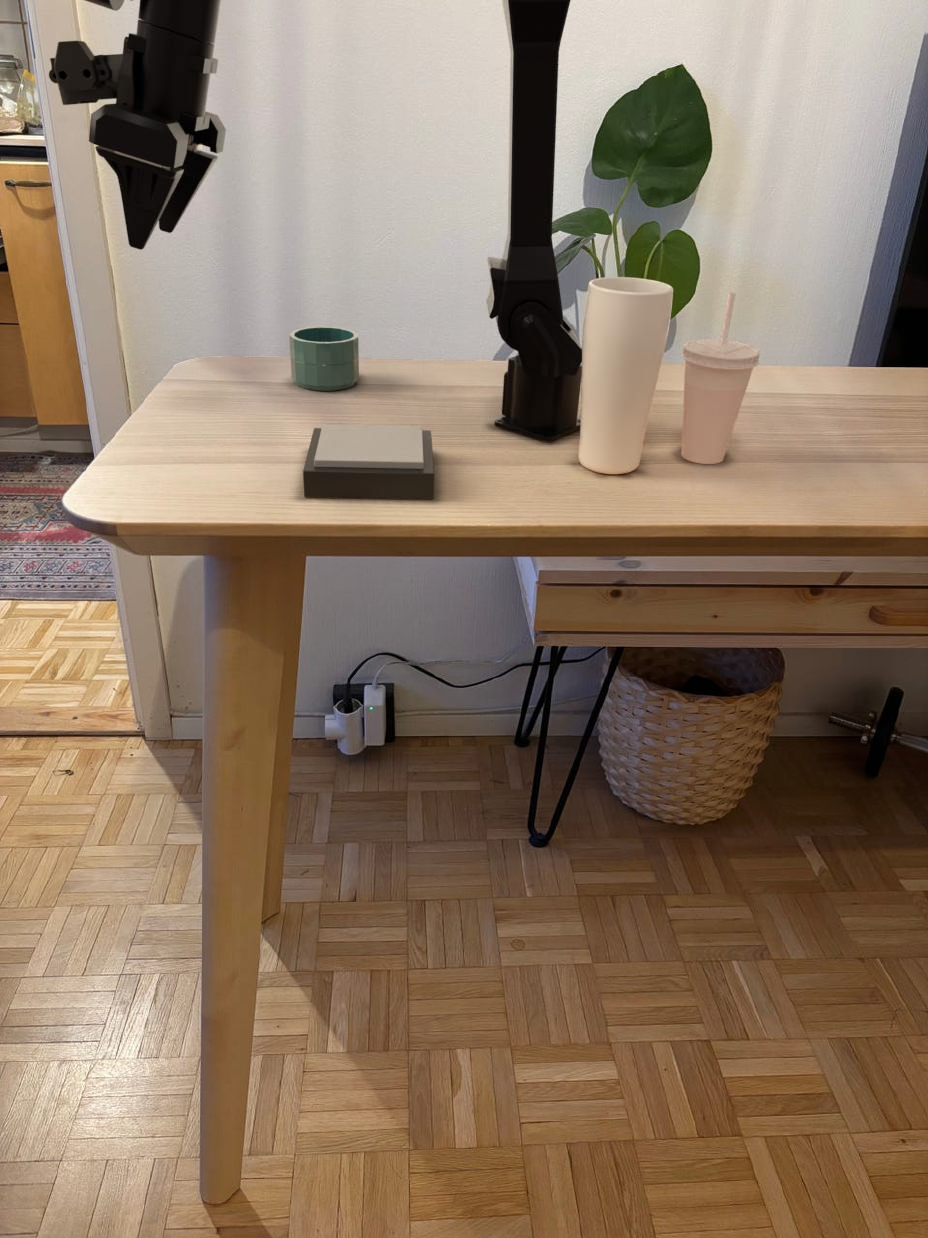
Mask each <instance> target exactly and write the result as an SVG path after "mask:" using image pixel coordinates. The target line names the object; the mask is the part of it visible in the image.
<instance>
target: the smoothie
mask: <svg viewBox="0 0 928 1238" xmlns="http://www.w3.org/2000/svg"><path fill="white" fill-rule="evenodd" d="M735 298H736V293H735V292H728V294H727V301H726V306H725V312H724V318H723V322H722V328H721V334H720V339H718V338H717V339H716V338H699V339H692V340H689V341H686V342H685V343H684V345H683V349H682V353H681V358H683V360H684V377H683V379H684V381H683V403H682V404H683V405H682V406H683V407H682V430H681V431H682V433H681V453H680V454H681V457H682V458H683V459H684V460H687V461H688V462H692V463H696V464H700V465H701V464H702V465H716V464H720V463H722V462H723V461H724V460H725V459H724V458H725V455H726V452H727V449H728V447H729V443H730V440H731V437H732V435H733V431H734V428H735V424H736V422H737V418H738V415H739V412H740V409H741V406H742V403H743V401H744V397H745V395H746V393H747V389H748V386H749V383H750V379H751V376H752V373H753V370H754V368H756V367H758V365H759V358H760V354H761V353H760V350H759V349H758V348H757V347H754V346H753V345H751V344H748V343H747V344H746V343H743V342H739V341H733V340H728V337H729V332H730V326H731V321H732V315H733V311H734V305H735V300H736V299H735Z"/></svg>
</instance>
